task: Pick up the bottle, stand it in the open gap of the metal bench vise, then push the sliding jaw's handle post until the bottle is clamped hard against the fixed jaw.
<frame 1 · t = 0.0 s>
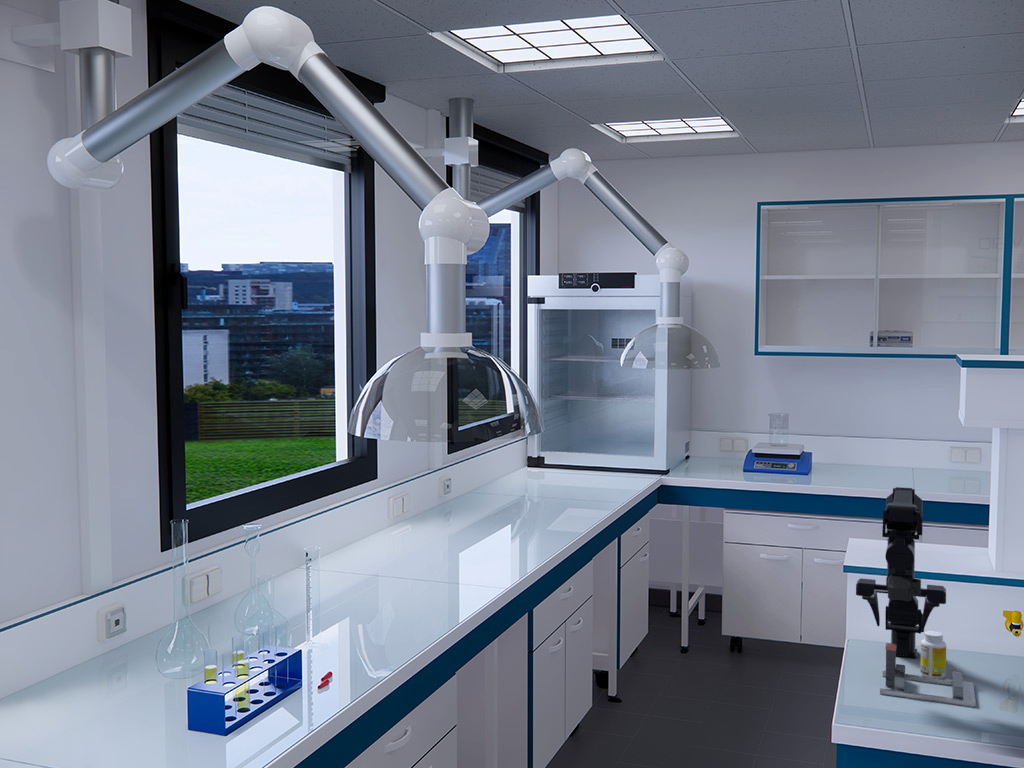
hand: (900, 628, 211), 15 cm above the worktop, fingers open, 9 cm apart
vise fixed: (957, 694, 209), on the worktop
supplement bottle: (933, 676, 222), on the worktop
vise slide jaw: (895, 665, 215), point 5 cm above the worktop, slide at 0.0 cm
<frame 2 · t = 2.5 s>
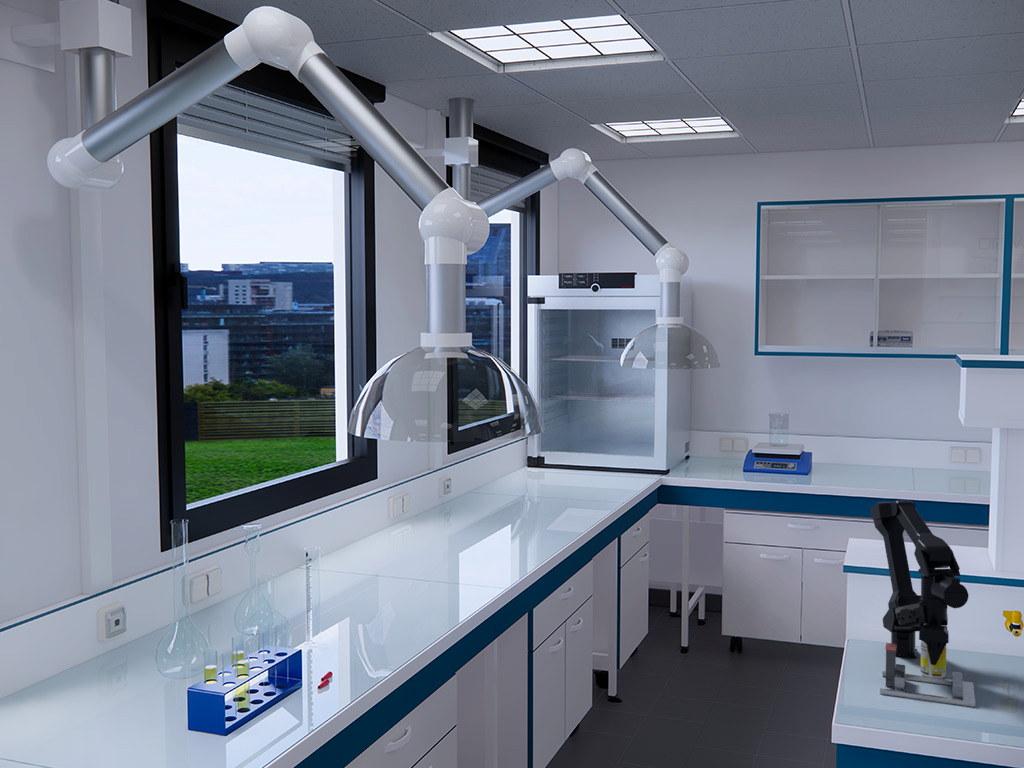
hand: (933, 660, 221), 4 cm above the worktop, fingers closed on supplement bottle, 5 cm apart
supplement bottle: (933, 676, 222), on the worktop, touching gripper
everything else where it was.
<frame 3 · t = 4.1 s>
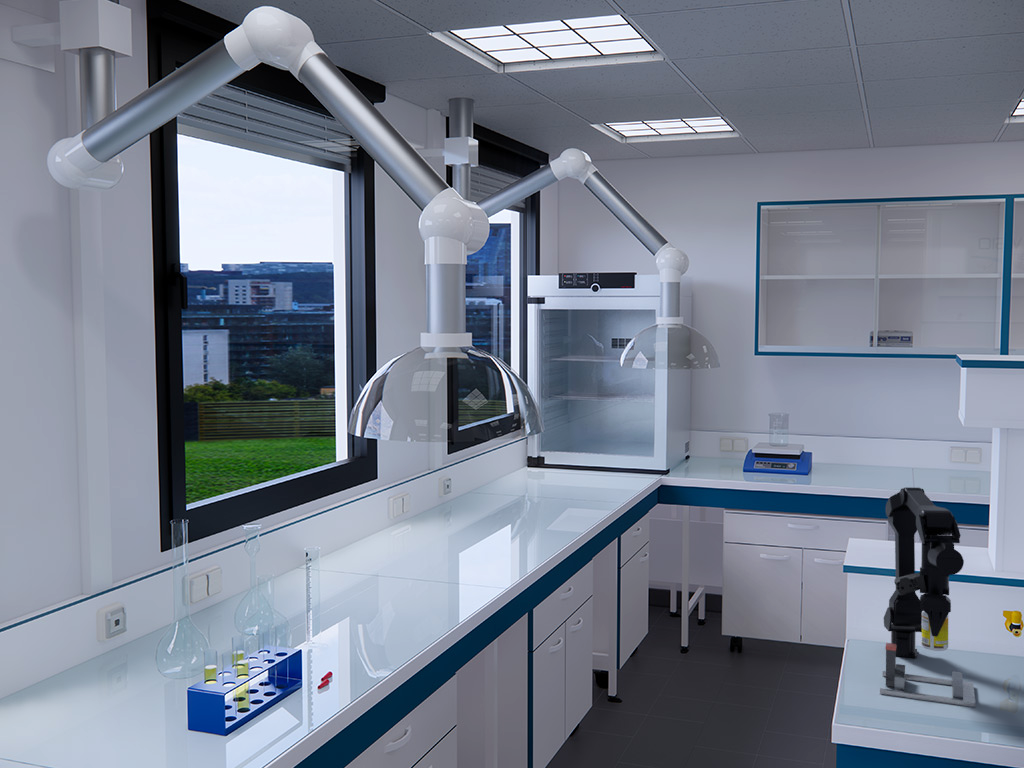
hand: (934, 632, 212), 13 cm above the worktop, fingers closed on supplement bottle, 5 cm apart
supplement bottle: (934, 648, 212), point 10 cm above the worktop, touching gripper
everything else where it was.
when the fingers open (5 cm above the worktop, at t = 6.1 s): supplement bottle drops 1 cm, resting in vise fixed.
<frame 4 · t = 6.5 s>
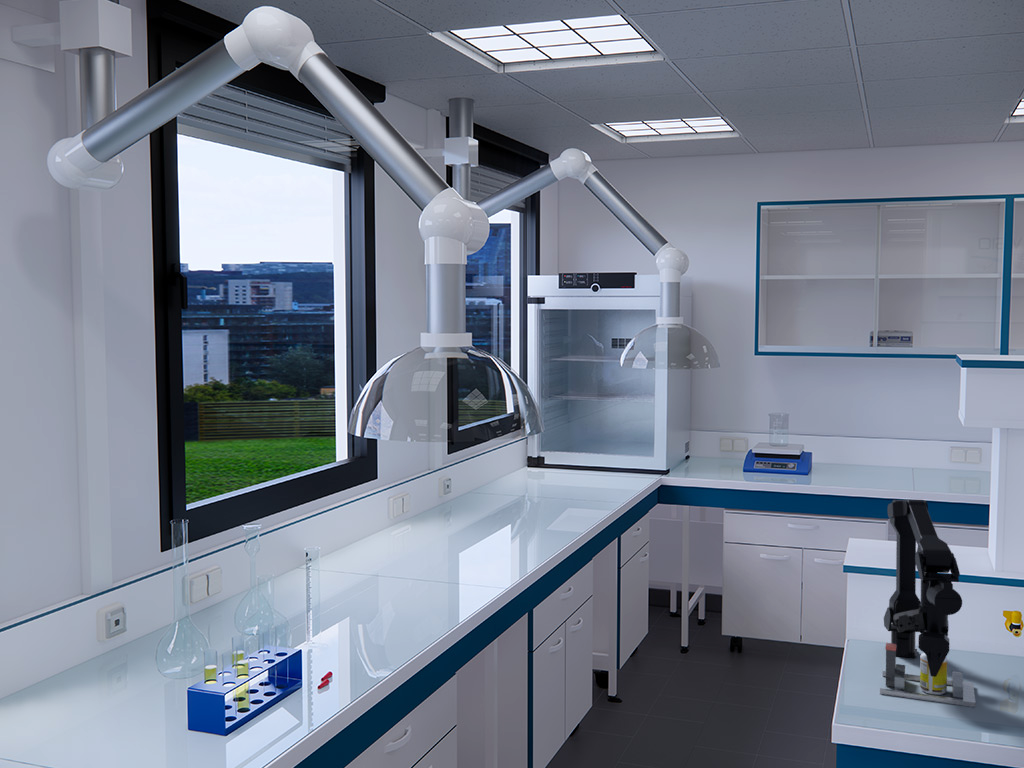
hand: (933, 669, 211), 5 cm above the worktop, fingers open, 9 cm apart
supplement bottle: (933, 692, 212), resting in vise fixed
everything else where it was.
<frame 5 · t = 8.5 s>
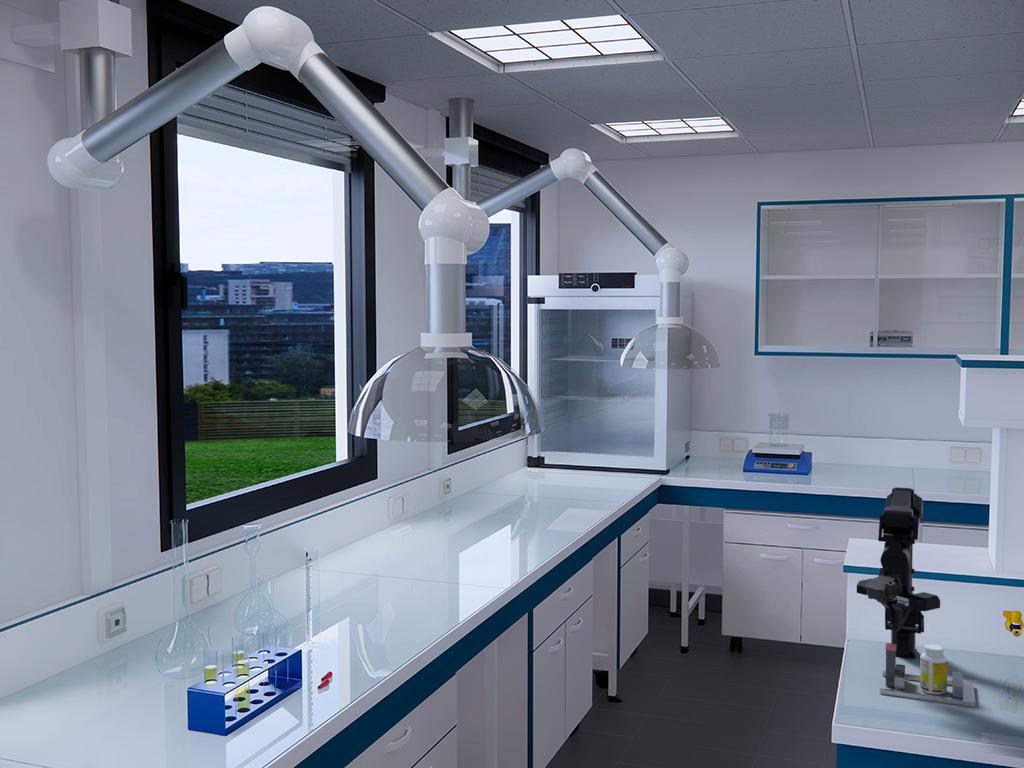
hand: (896, 631, 214), 13 cm above the worktop, fingers closed
nothing on the worktop moved.
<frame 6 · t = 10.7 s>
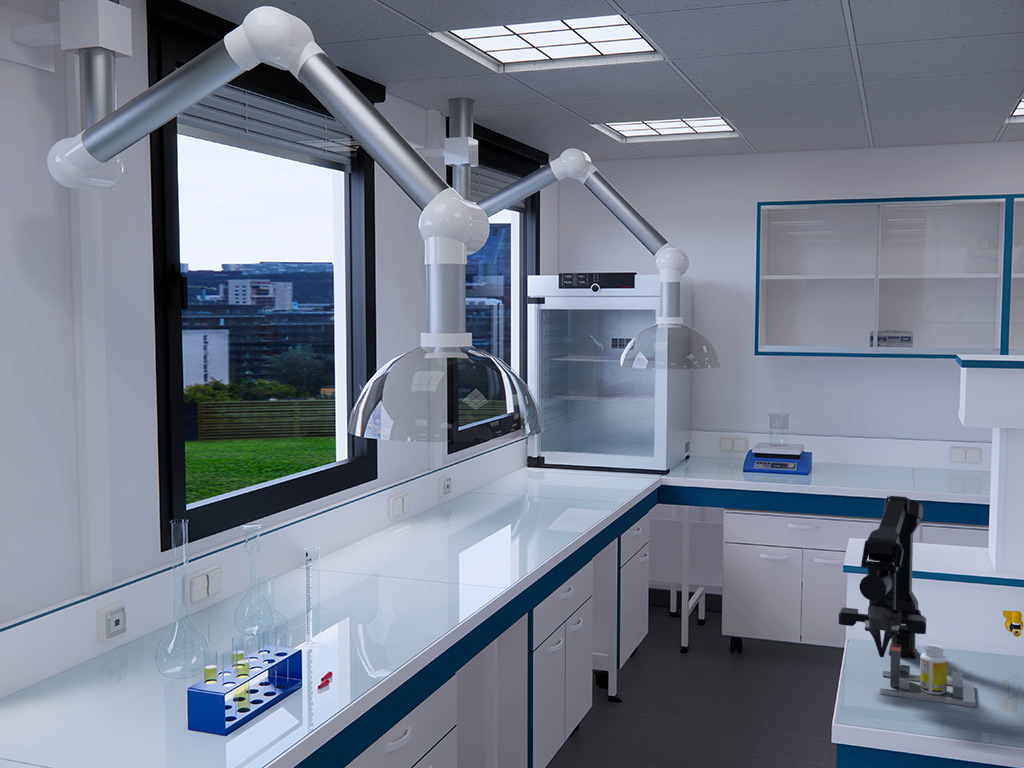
hand: (881, 656, 216), 6 cm above the worktop, fingers closed
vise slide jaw: (899, 666, 214), point 5 cm above the worktop, slide at 1.0 cm, touching gripper
everything else where it was.
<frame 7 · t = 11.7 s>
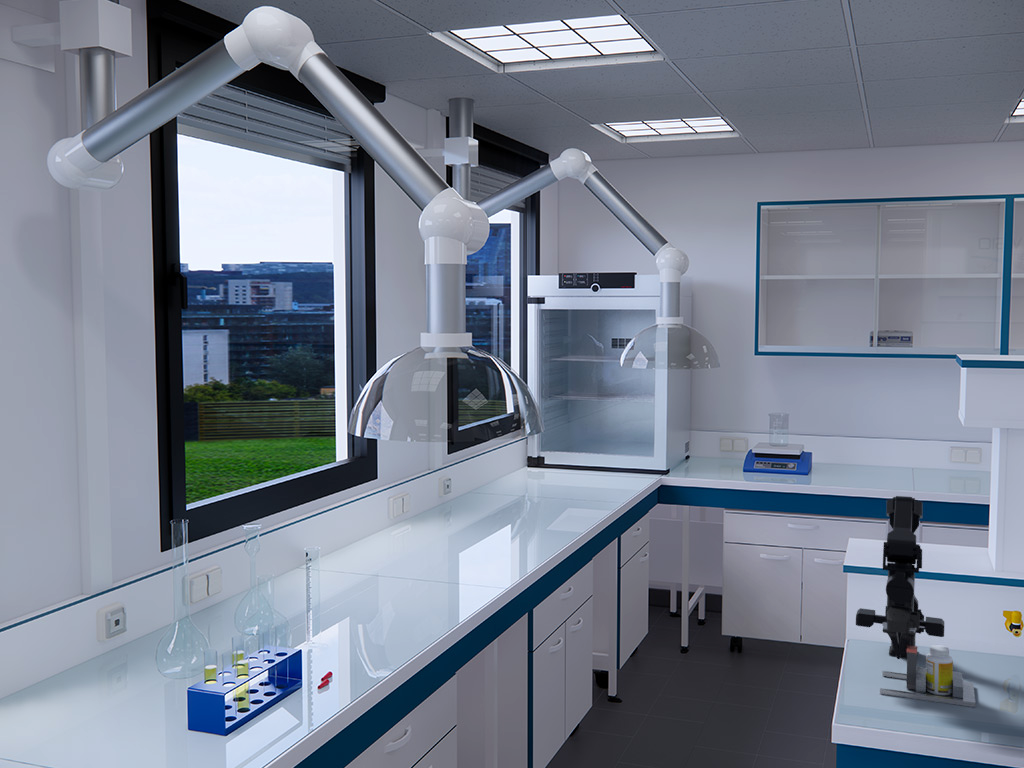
hand: (898, 658, 214), 6 cm above the worktop, fingers closed
supplement bottle: (938, 692, 211), resting in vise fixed, touching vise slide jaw
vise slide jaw: (916, 668, 213), point 5 cm above the worktop, slide at 4.5 cm, touching supplement bottle, gripper
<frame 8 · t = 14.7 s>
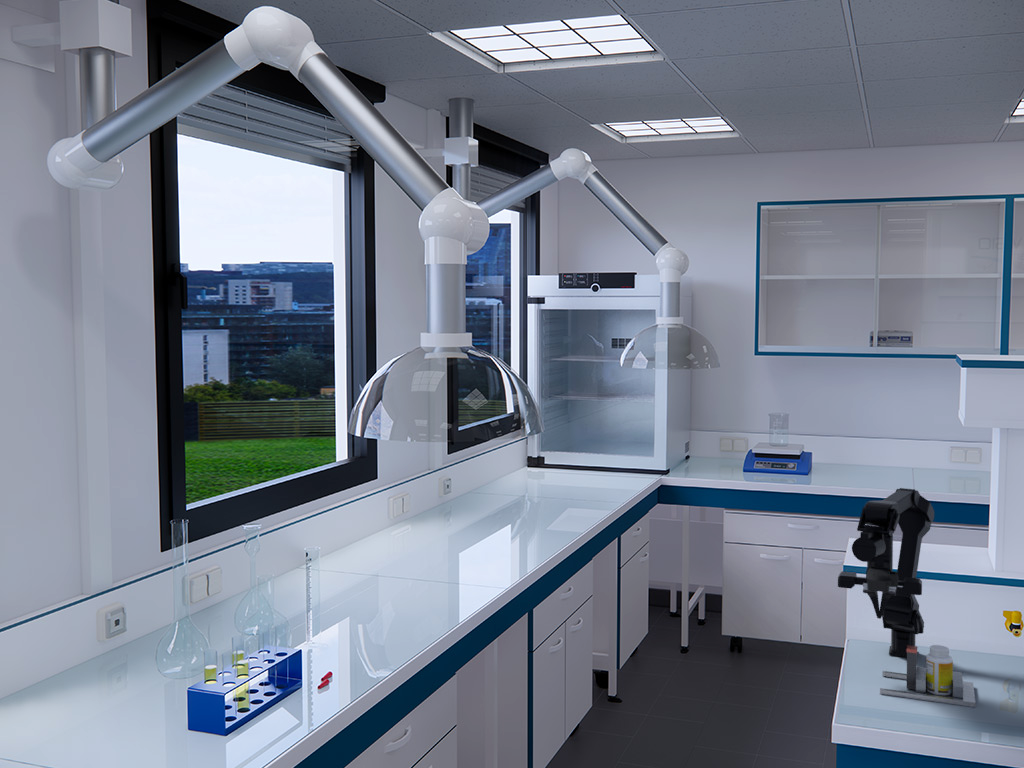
hand: (879, 618, 224), 13 cm above the worktop, fingers closed
supplement bottle: (938, 692, 211), resting in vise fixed
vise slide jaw: (916, 668, 213), point 5 cm above the worktop, slide at 4.4 cm
at the end: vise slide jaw slide at 4.4 cm; supplement bottle 0.3 cm from the target spot, resting in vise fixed; supplement bottle tilted 0° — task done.
